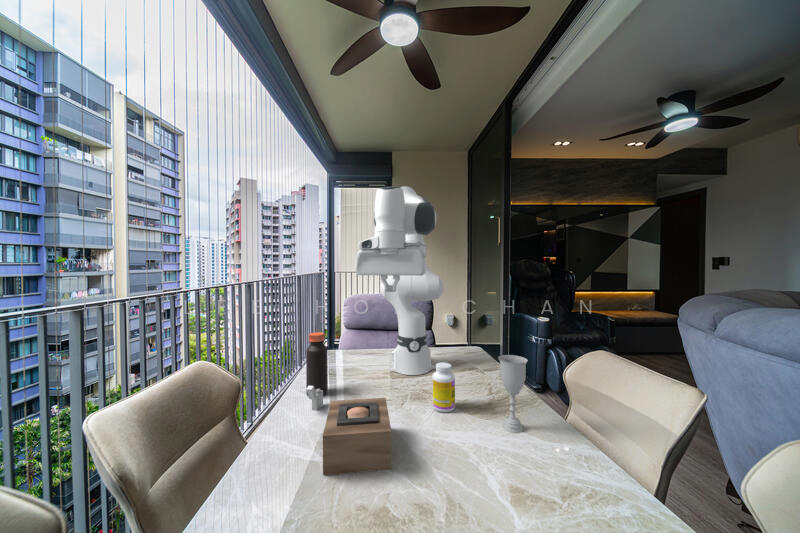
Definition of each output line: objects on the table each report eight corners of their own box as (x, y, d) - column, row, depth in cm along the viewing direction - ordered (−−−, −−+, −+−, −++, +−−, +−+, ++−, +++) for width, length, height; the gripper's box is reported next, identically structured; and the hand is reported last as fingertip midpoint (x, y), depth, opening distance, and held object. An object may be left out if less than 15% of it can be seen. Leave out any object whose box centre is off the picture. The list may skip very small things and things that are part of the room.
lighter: (318, 403, 93) (318, 377, 93) (323, 404, 93) (323, 378, 93) (306, 415, 86) (306, 387, 86) (311, 415, 86) (311, 387, 86)
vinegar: (326, 388, 105) (326, 330, 105) (328, 396, 98) (328, 335, 98) (306, 391, 103) (305, 332, 102) (306, 399, 96) (306, 336, 96)
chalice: (497, 431, 77) (497, 361, 77) (498, 418, 84) (498, 353, 84) (528, 437, 75) (528, 364, 75) (527, 423, 81) (527, 356, 81)
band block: (331, 432, 77) (330, 398, 77) (385, 428, 79) (385, 395, 79) (322, 475, 62) (322, 432, 62) (391, 469, 63) (391, 428, 63)
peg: (347, 440, 73) (347, 407, 72) (368, 439, 73) (368, 406, 73) (346, 453, 68) (346, 418, 68) (369, 452, 68) (369, 416, 68)
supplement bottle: (454, 414, 86) (454, 369, 86) (431, 412, 88) (431, 368, 88) (455, 403, 93) (455, 362, 93) (433, 402, 94) (433, 360, 94)
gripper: (428, 242, 86) (428, 291, 87) (361, 244, 92) (361, 290, 92) (424, 241, 80) (424, 293, 80) (352, 243, 86) (353, 291, 86)
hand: (390, 291), depth 86 cm, fingers closed
